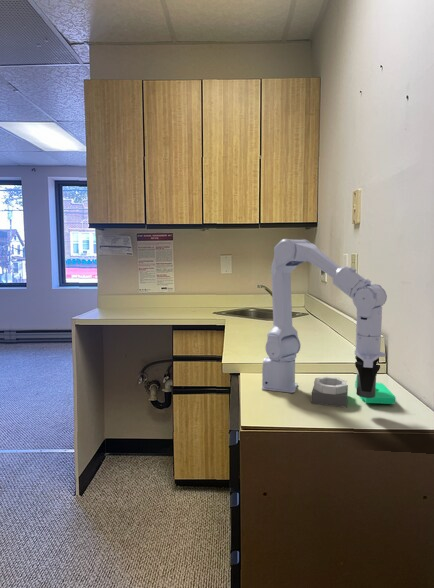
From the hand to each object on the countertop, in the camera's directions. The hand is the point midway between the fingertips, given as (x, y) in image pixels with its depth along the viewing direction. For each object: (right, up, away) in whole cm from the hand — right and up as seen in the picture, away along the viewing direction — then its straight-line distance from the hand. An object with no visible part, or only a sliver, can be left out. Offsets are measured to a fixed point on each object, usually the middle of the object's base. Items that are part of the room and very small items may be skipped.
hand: (366, 387), depth 98 cm
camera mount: (+6, -6, +11) cm, 14 cm away
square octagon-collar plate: (-6, -6, +10) cm, 13 cm away
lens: (0, -2, 0) cm, 2 cm away
